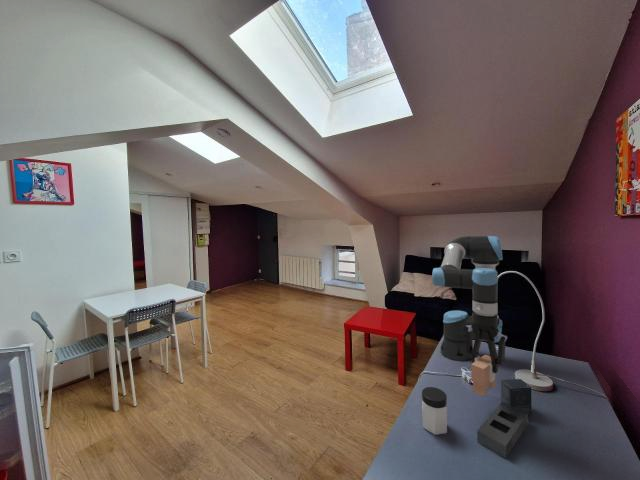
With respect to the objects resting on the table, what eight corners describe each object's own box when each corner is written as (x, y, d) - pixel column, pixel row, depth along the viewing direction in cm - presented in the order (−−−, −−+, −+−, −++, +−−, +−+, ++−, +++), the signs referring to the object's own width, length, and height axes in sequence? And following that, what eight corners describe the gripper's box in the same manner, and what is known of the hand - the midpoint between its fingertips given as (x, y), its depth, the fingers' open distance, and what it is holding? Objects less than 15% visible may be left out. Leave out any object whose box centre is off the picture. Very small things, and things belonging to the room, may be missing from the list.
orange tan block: (485, 380, 99) (485, 354, 99) (497, 385, 96) (497, 358, 96) (471, 392, 93) (471, 364, 92) (483, 397, 90) (483, 369, 89)
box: (520, 404, 104) (520, 378, 104) (532, 414, 99) (532, 387, 98) (500, 405, 105) (500, 379, 104) (510, 415, 99) (510, 388, 98)
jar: (422, 414, 101) (421, 384, 100) (446, 419, 98) (445, 388, 97) (422, 432, 93) (421, 399, 92) (447, 438, 90) (447, 404, 89)
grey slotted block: (502, 411, 101) (502, 401, 101) (527, 423, 95) (528, 412, 94) (477, 442, 88) (477, 430, 87) (505, 458, 81) (505, 446, 81)
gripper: (454, 309, 98) (455, 371, 99) (508, 322, 84) (508, 393, 85) (464, 305, 102) (465, 364, 103) (517, 316, 88) (517, 384, 90)
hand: (484, 377), depth 94 cm, fingers closed on orange tan block, 4 cm apart
